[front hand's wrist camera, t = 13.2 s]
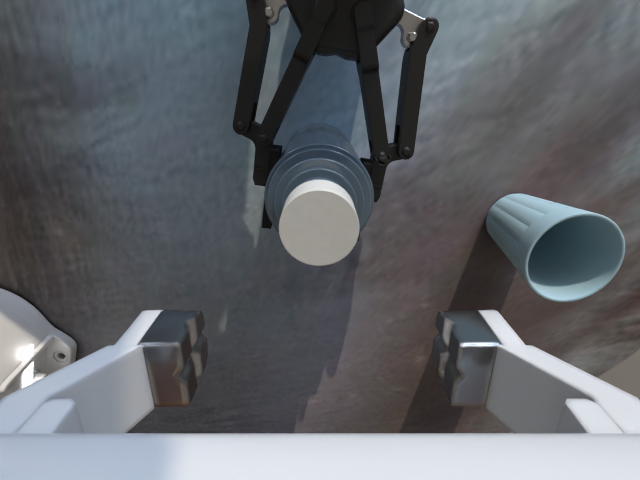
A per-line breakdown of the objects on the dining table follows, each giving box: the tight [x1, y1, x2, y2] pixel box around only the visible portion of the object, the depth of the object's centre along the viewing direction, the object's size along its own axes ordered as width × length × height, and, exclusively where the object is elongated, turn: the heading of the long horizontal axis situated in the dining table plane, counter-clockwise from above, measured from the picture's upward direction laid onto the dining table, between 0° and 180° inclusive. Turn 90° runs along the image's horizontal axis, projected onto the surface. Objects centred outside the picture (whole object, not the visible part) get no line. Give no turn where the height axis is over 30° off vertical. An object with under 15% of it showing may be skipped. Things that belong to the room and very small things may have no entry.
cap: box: [279, 180, 359, 266], centre depth 19 cm, size 4×4×2 cm
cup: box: [486, 194, 625, 302], centre depth 35 cm, size 8×8×10 cm
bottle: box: [264, 124, 374, 232], centre depth 28 cm, size 7×7×20 cm
